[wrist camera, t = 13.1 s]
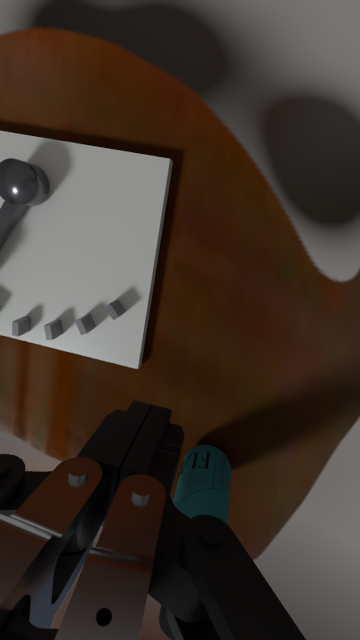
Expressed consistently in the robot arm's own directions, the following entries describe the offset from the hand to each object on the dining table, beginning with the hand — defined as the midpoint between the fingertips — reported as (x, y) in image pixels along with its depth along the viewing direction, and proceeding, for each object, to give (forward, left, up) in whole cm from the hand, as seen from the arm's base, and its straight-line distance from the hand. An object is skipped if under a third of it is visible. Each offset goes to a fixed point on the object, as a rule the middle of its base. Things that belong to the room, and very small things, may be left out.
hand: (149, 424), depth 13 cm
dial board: (-1, -22, -27) cm, 35 cm away
